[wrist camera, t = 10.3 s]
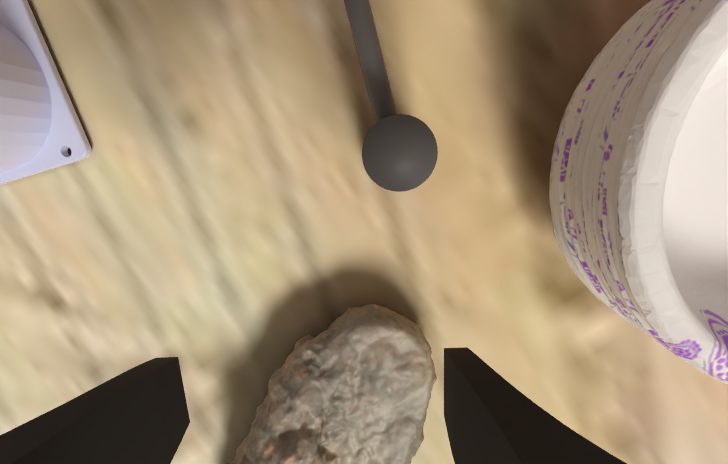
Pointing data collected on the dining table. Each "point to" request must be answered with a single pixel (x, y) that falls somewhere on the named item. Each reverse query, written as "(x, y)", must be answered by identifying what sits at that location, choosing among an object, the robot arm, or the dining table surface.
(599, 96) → the paper bowls
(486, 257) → the dining table surface
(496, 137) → the dining table surface
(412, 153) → the grey mallet
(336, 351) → the long grey stone
